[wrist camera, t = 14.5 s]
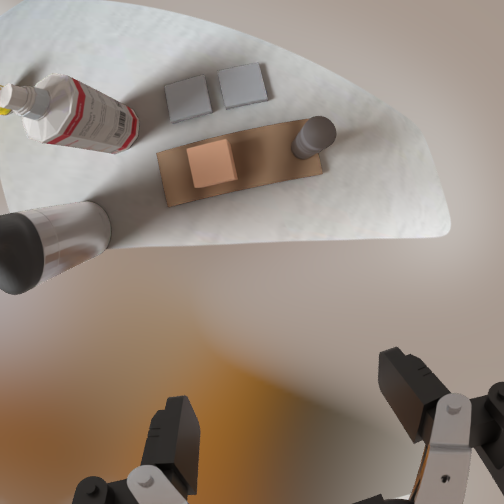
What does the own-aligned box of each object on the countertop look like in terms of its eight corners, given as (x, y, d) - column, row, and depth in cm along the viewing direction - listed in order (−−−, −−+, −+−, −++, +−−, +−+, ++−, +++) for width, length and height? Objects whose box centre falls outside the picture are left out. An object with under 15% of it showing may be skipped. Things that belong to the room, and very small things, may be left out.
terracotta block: (202, 187, 41) (194, 187, 36) (195, 152, 40) (186, 148, 36) (237, 179, 41) (234, 178, 36) (230, 144, 40) (226, 138, 35)
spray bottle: (135, 99, 40) (34, 40, 16) (144, 143, 42) (34, 111, 17) (93, 117, 41) (-19, 83, 16) (100, 159, 42) (-19, 150, 18)
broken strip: (173, 123, 41) (170, 121, 40) (166, 88, 40) (164, 85, 39) (267, 100, 40) (267, 98, 39) (258, 65, 39) (258, 62, 38)
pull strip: (170, 206, 43) (130, 216, 29) (159, 154, 42) (115, 142, 28) (321, 174, 42) (348, 169, 28) (309, 120, 40) (329, 91, 26)
